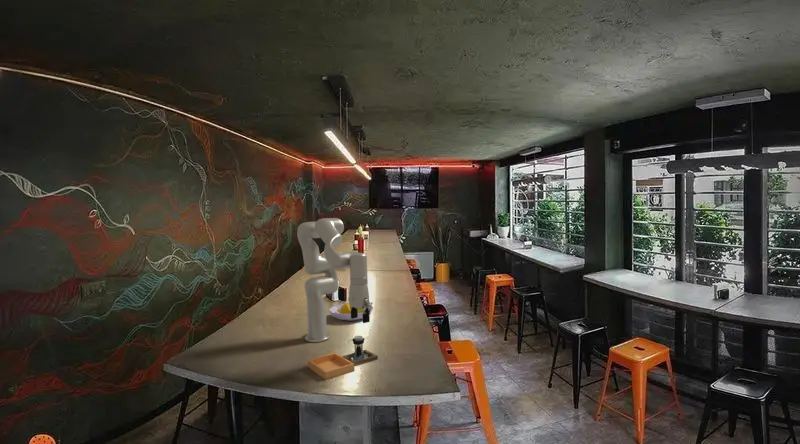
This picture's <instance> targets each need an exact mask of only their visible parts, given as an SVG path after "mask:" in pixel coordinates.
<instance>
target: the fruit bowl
mask: <svg viewBox="0 0 800 444" xmlns="http://www.w3.org/2000/svg"><path fill="white" fill-rule="evenodd" d="M370 303H371V304H372V305H373V304H374V303H373V302H370ZM374 307H375V306H371V310H370V313H369V316H371V314H372V312H373V310H374ZM356 309H357V308H356ZM365 310H366V308H365ZM328 312H329V313H330V316H331V317H333V318H336V319H338V320H341V321H347V322H354V321H357V320H361V319H362V320H363V314H364V313H363V311H362V309H357V313H358V317H357V318H353V319H352V318H351V309H350V305H349V302H347V303H342V304H338V305H337V304H336V305H332V306H331V307H330V308H328Z"/></svg>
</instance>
